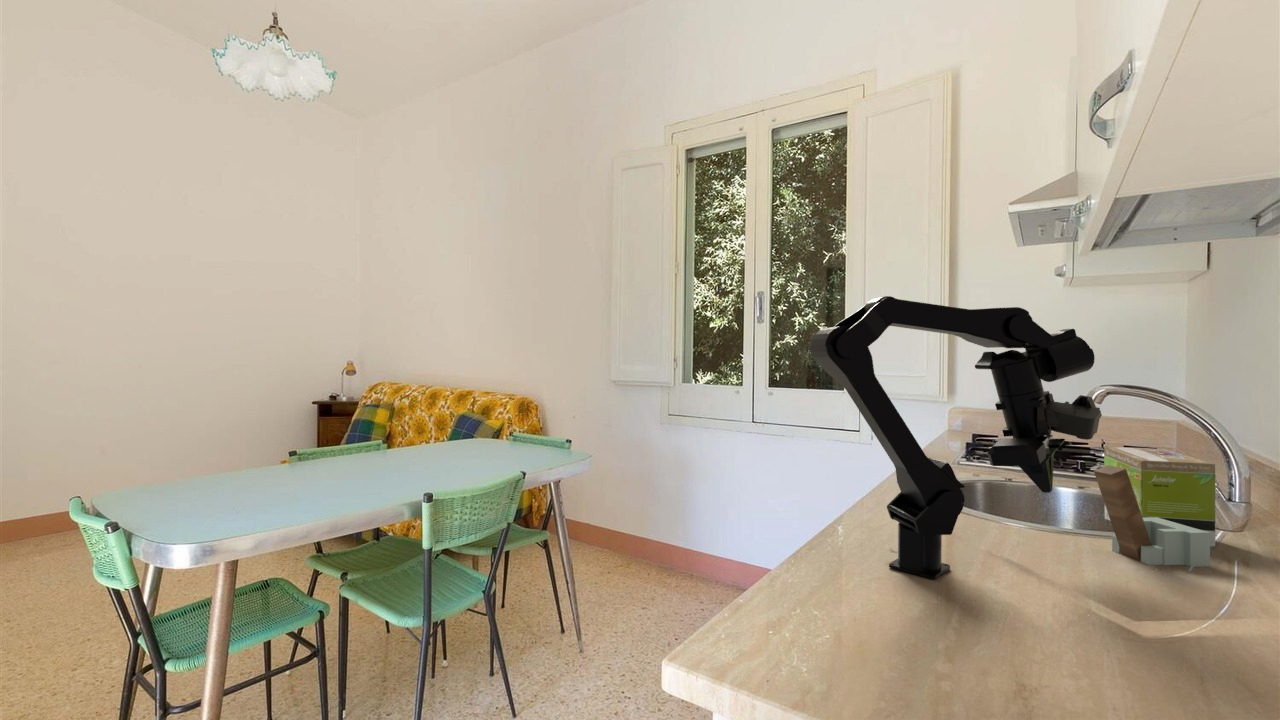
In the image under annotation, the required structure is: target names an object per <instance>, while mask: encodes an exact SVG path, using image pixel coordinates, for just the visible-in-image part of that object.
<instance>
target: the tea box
mask: <svg viewBox="0 0 1280 720" xmlns="http://www.w3.org/2000/svg"><path fill="white" fill-rule="evenodd" d="M1103 453H1104V455H1103V459H1104V460H1103V462H1104V466H1107V465H1111V466H1115V467H1120V468H1125V469H1126V470H1127V473H1128V476H1129V479H1130V482H1131V485H1132V488H1133V491H1134V494H1135V497H1136V500H1137V503H1138V506H1139V509H1140V512H1141V515H1142V517H1158V518H1161V519H1165V520H1168V521H1172V522H1175V523H1179V524H1182V525H1185V526H1189V527H1192V528H1196V529H1199V530H1203V531H1206V532H1210V547H1216V464H1215V463H1212V462H1209V461H1207V460H1203V459H1200V458H1197V457H1193V456H1190V455H1187V454H1184V453H1180V452H1177V451H1173V450H1170V449H1167V448H1166V449H1165V448H1150V447H1148V448H1147V447H1146V448H1145V447H1117V446H1116V447H1115V446H1109V447H1108V446H1104V451H1103ZM1104 520H1109V521H1110V518H1109V515H1108V512H1107V509H1106V506H1105V505H1104Z"/></svg>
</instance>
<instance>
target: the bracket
mask: <svg viewBox="0 0 1280 720" xmlns="http://www.w3.org/2000/svg"><path fill="white" fill-rule="evenodd" d="M1143 520H1144V523H1145V526H1146V529H1147V532H1148V535H1149V538H1150V541H1151V544H1152V546H1141V561H1140V563H1143V564H1145V565H1149V566H1155V565H1164V566H1183V565H1185V566H1188V567H1193V568H1195V567H1198V568H1199V567H1211V546H1210V532H1206V531H1203V530H1199V529H1196V528H1192V527H1189V526H1185V525H1182V524H1179V523H1175V522H1172V521H1168V520H1165V519H1161V518H1158V517H1143ZM1111 537H1112V538H1111V539H1112V540H1111V541H1112V542H1111V543H1112V544H1111V545H1112V546H1111V550H1112V552H1113V553H1116V554H1121V555H1123V554H1122V553H1121V550H1120V547H1119V544H1118V541H1117V538H1116V535H1112V536H1111Z"/></svg>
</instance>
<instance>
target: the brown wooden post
mask: <svg viewBox="0 0 1280 720" xmlns="http://www.w3.org/2000/svg"><path fill="white" fill-rule="evenodd" d="M1093 473H1094V476H1095V479H1096V482H1097V485H1098V488H1099V491H1100V494H1101V497H1102V499H1103V500H1102V501H1103V502H1104V507H1105V506H1106V509H1107V512H1108V515H1109V518H1110V520H1109V522H1110V524H1111V526H1112V529H1113V532H1114V536H1116V538H1117V541H1118V544H1119V547H1120V550H1121V553H1122V554H1121V555H1123V556H1126V557H1128V558H1131V559H1134V560H1135V561H1139V562H1141V546H1152V544H1151V541H1150V538H1149V535H1148V532H1147V529H1146V526H1145V523H1144V520H1143V517H1142V515H1141V512H1140V509H1139V506H1138V503H1137V500H1136V497H1135V494H1134V491H1133V488H1132V485H1131V482H1130V479H1129V476H1128V473H1127V470H1126V469H1125V468H1120V467H1115V466H1111V465H1107V466H1105V465H1104V466H1102V467H1099V468H1096V469H1094V470H1093Z"/></svg>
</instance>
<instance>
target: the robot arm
mask: <svg viewBox="0 0 1280 720" xmlns="http://www.w3.org/2000/svg"><path fill="white" fill-rule="evenodd" d="M889 327H896V328H897V327H898V328H903V329H911V330H917V331H918V330H919V331H923V332H933V333H939V334H944V335H945V334H946V335H953V336H956V337H959V338H961V340H964V341H966V342H968V343H971V344H974V345H977V346H980V347H983V348H989V349H990V348H992V349H993V348H1003V349H1008V350H1005V351H1002V352H1000V353H999V352H998V353H996V351H983V353H982V356H981V357H980V358H979V360H978V361H977V362H976V364H975V365H974V368H975V369H976V370H990V371H991V375H992V377H993V381H994V385H995V389H996V393H997V396H998V401H997V402H995V403H994V405H995V409H996V411H1001V412H1002V414H1003V418H1004V422H1005V425H1006V426H1005V427H1004V428H1003V429H1002V434H1003V437H1004V438H1000V439H999V440H998V441H996V443H994V444H993V445H992V447H990V449H989V450H988V451H987V457H988V460H989V465H990V466H991V467H1018V468H1020V470H1021V471H1023V472H1024V474H1025V475H1026V476H1027V477H1028V478H1029V479H1030V480H1031V481H1032V482H1033V483H1034V485H1035V486H1036V487H1037V488H1038V489H1039V490H1040V491H1041V492H1042V493H1048V494H1049V493H1050V494H1051V493H1052V491H1053V486H1054V485H1053V482H1054V463H1055V462H1054V460H1055V453H1056V452H1057V450H1059V448H1060V447H1061V446H1062V445H1063V444H1064V442H1065V441H1066V439H1065V438H1054V435H1053V434H1052V431H1053V432H1056V433H1059V434H1064V435H1068V436H1073V437H1076V438H1077V439H1080V440H1087V441H1088V440H1092V439H1093V437H1094V436H1095V434H1097V433H1098V429H1099V424H1100V419H1101V418H1102V415H1103V414H1102V411H1101V407H1098V406H1097V405H1096V404H1095V401H1094V399H1093V397H1092V396H1087V395H1081V394H1080V395H1079V396H1078V397H1077V398H1075V400H1074V401H1072V402H1071V403H1070V401H1065V402H1061V401H1060V402H1059V401H1055V400H1054V395H1053V393H1050V391H1049V390H1046V391H1045V390H1044V387H1043V383H1042V381H1044V382H1047V383H1052V382H1055V381H1058V380H1062V379H1065V378H1069V377H1071V376H1074V375H1075V376H1076V375H1079V374H1081V373H1086V372H1088V371H1090V370H1091V369H1092V368H1093V367H1094V364H1095V354H1094V353H1095V352H1094V350H1093V348H1091V347H1090V345H1089V344H1088V343H1087V341H1086V340H1084V339H1083V338H1082V337H1080V336H1077V333H1076V330H1075V328H1065V329H1060V330H1057V331H1055V332H1053V333H1051V334H1050V332H1048V331H1047V330H1045V329H1044V328H1043V327H1042V326H1040V325H1039V324H1038V323H1037V322H1035V321H1034V320H1033V318H1032V316H1031V315H1030V312H1029V310H1027V309H1025V308H1023V307H1018V306H1016V307H1013V306H1012V307H994V308H993V307H991V308H976V309H975V308H974V309H973V308H970V309H969V308H961V307H956V306H947V305H943V304H934V303H929V302H927V303H926V302H921V301H920V302H919V301H914V300H913V301H912V300H905V299H898V298H896V297H893V296H890V295H888V296H886V295H885V296H882V297H876V298H875V297H874V298H871V300H868V301H867V302H866V303H865V304H864V305H862V306H861V308H859V309H858V310H857V311H855V312H853V313H852V314H850V315H849V316H847V317H845V318H844V319H842V320H840V321H839V322H837V323H836V324H835V325H834V326H832V327H824V328H822V329H820V330H818V331H816V332H815V334H814V335H813V337H812V338H811V340H810V341H811V342H810V346H809V351H810V354H811V357H812V358H813V360H814V361H816V363H817V364H818V365H819V366H820V367H821V369H823V370H824V372H825V373H826V374H828V376H830V377H831V378H832V379H834V380H835V382H837V383H838V384H840V385H841V386H842V387H843V388H844V389H845V390H846V392H847V393H848V395H849V397H850V398H851V400H852V401H853V403H854V404H855V406H856V408H857V409H858V411H859V412H860V414H861V415H862V417H863V419H864V420H865V422H866V423H867V425H868V426H869V428H870V429H871V431H872V433H873V434H874V436H875V438H877V440H878V443H880V445H881V447H882V448H883V450H884V451H885V453H886V455H887V456H888V458H889V459H890V461H891V463H892V464H893V467H894V469H895V475H896V483H897V486H898V487H899V490H900V492H899V493H898V494H896V496H895V497H894V498H893V499H892V500H891V501H890V502H889V503H888V504H887V505H886V509H887V513H888V515H889V518H890V519H891V520H893V521H896V522H898V524H897V525H898V526H897V527H898V529H897V533H898V534H897V535H898V537H897V539H898V541H897V544H898V545H897V555H898V556H897V558H896V559H894V560H892V561H891V562H890V563H888V567H889V568H890V569H894V570H898V571H902V572H905V573H909V574H913V575H917V576H920V577H925V578H927V579H928V578H929V579H934V580H935V579H938V578H939V577H940V576H942V575H943V574H944V573H946V572H947V571H949V570H950V569H951V565H950V564H948V563H943V562H942V536H951V535H952V534H953V531H954V530H955V529H954V528H955V527H956V526H955V525H956V523H957V520H958V517H959V515H960V514H961V513H962V511H963V509H964V504H965V503H966V497H965V494H964V492H963V490H962V489H964V488H965V485H964V484H963V483H961V482H960V481H959V479H958V478H957V475H955V472H954V469H953V468H952V466H951V465H950V464H949V463H948V462H945V461H942V460H940V459H935V458H932V457H929V456H927V455H926V453H925V452H924V450H923V449H922V448H921V446H920V444H919V443H918V441H917V439H916V438H915V436H914V435H913V433H912V431H911V430H910V428H909V427H908V425H907V424H906V422H905V421H904V419H903V418H902V416H901V415H900V413H899V411H898V409H897V408H896V406H895V405H894V403H893V402H892V400H891V398H890V397H889V394H887V392H886V390H885V389H884V388H883V386H882V385H881V383H880V382H879V380H878V377H876V374H875V368H874V361H873V355H872V352H871V350H870V346H871V345H872V344H873V343H875V342H876V341H877V340H878V339H879V338H880V337H882V335H883V333H884V332H886V330H887V329H888V328H889ZM1015 349H1025V351H1022V352H1021V351H1019V350H1015ZM1005 437H1013V438H1005Z"/></svg>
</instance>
